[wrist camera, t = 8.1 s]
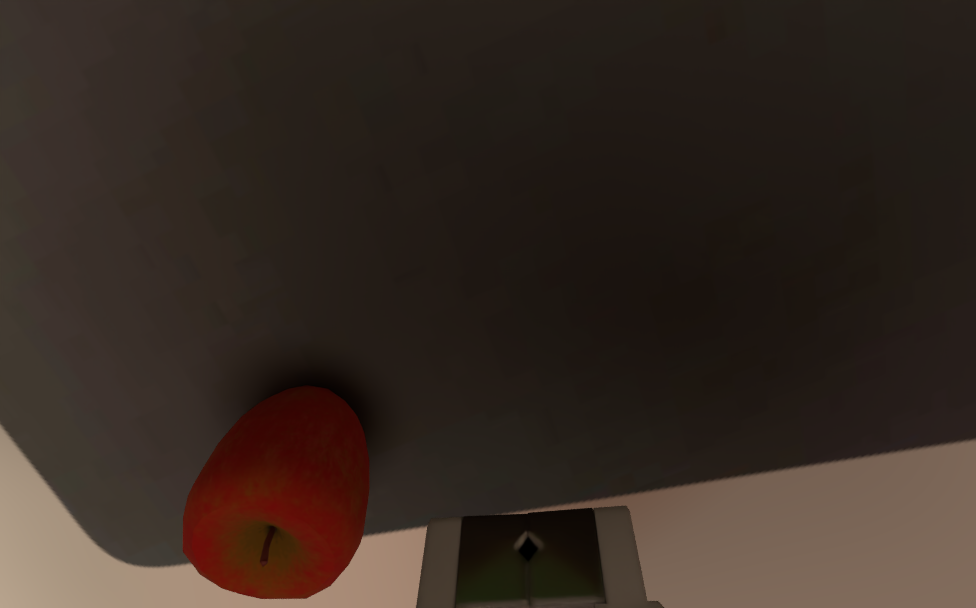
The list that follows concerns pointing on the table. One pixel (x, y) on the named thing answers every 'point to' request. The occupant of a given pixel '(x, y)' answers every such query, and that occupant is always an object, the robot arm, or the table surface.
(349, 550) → the apple
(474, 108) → the table surface
